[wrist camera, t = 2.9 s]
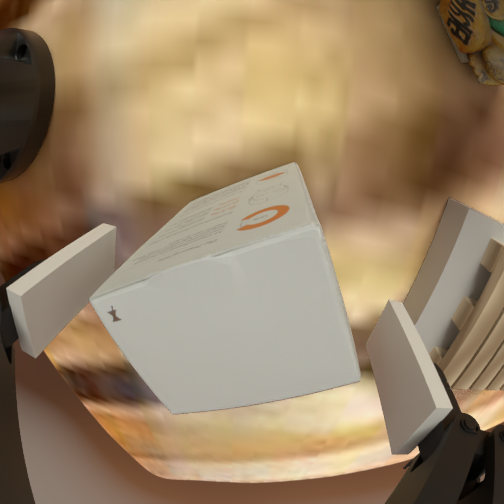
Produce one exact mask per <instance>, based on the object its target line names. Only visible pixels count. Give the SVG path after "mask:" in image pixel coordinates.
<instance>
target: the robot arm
mask: <svg viewBox="0 0 504 504" xmlns="http://www.w3.org/2000/svg"><path fill="white" fill-rule="evenodd" d="M53 99H54V67H53V61H52V57H51V53H50V51H49V48H48V46H47V44H46V43H45V41H44V40H43V39H42V37H41V36H39V35H38V34H37V33H35V32H32V31H28V30H23V29H17V28H8V29H3V30H0V184H1V183H3V182H6V181H9V180H12V179H14V178H16V177H18V176H19V175H21V174H22V173H23V172H24V171H25V170H26V169H27V168H28V167H29V165H30V164H31V163H32V161H33V160H34V158H35V156H36V155H37V153H38V151H39V149H40V147H41V145H42V142H43V140H44V137H45V134H46V131H47V128H48V125H49V121H50V116H51V112H52V106H53ZM115 245H116V227H115V226H112V225H108V224H105V223H103V224H101V225H99V226H98V227H96V228H95V229H93V230H91V231H90V232H88V233H86V234H85V235H83V236H82V237H80V238H78V239H77V240H75V241H74V242H72V243H71V244H69V245H68V246H66V247H64V248H63V249H61V250H60V251H58V252H57V253H55V254H54V255H52V256H51V257H49V258H48V259H46V260H45V259H43V260H40V261H37V262H35V263H33V264H31V265H30V266H28V267H27V268H25V270H22V271H21V272H20V273H19V274H17V275H15V276H14V277H12V278H11V279H10V280H8V281H7V282H6V283H4V284H3V285H1V286H0V504H35V501H34V498H33V494H32V490H31V486H30V482H29V478H28V474H27V469H26V464H25V459H24V454H23V448H22V442H21V436H20V428H19V421H18V411H17V400H16V385H15V350H14V346H13V343H14V342H15V341H16V340H17V339H19V343H20V346H21V349H22V351H24V352H26V353H27V354H29V355H31V356H33V357H34V358H37V357H38V355H39V354H40V353H41V352H42V351H43V350H44V349H45V348H46V347H47V345H48V344H49V343H50V342H51V341H52V340H53V339H54V338H55V337H56V336H57V335H58V334H59V333H60V332H61V330H62V329H63V328H64V327H65V326H66V325H67V324H68V323H69V322H70V321H71V320H72V319H73V318H74V317H75V316H76V315H77V314H78V313H79V312H80V311H81V310H82V309H83V308H84V307H85V306H86V305H87V304H88V303H89V302H90V301H89V298H90V297H91V296H92V295H93V294H94V293H95V291H96V290H97V289H98V288H99V287H100V286H101V285H102V284H103V283H104V282H105V281H106V280H107V279H108V278H109V277H110V276H111V275H112V274H113V273H114V272H115ZM366 348H367V351H368V355H369V358H370V362H371V366H372V370H373V373H374V377H375V381H376V385H377V389H378V393H379V397H380V402H381V406H382V410H383V414H384V419H385V423H386V428H387V433H388V437H389V442H390V447H391V452H392V454H409V453H410V452H411V451H412V450H413V449H415V448H416V447H417V446H418V447H419V451H420V453H419V454H418V455H417V456H416V457H414V458H413V459H412V460H411V461H410V462H409V463H408V464H407V465H406V466H405V467H403V468H404V469H406V468H407V467H408V466H409V468H408V469H407V471H406V473H405V474H404V476H403V477H402V479H401V481H400V482H399V484H398V485H397V487H396V488H395V490H394V491H393V493H392V494H391V495H390V497H389V498H388V500H387V501H386V503H385V504H504V425H501V424H500V425H497V426H496V427H495V428H494V429H493V430H492V431H491V432H486V431H483V430H480V427H479V424H478V423H477V421H476V420H475V419H474V418H473V417H472V416H470V415H468V414H466V413H461V410H460V408H459V406H458V403H457V401H456V399H455V396H454V394H453V392H452V390H451V389H450V385H449V383H448V382H447V379H446V377H445V375H444V373H443V371H442V370H441V369H440V367H439V366H438V365H437V364H436V363H433V362H432V360H431V358H430V356H429V354H428V352H427V350H426V348H425V346H424V344H423V341H422V340H421V338H420V336H419V334H418V332H417V330H416V328H415V326H414V324H413V322H412V320H411V318H410V316H409V314H408V313H407V311H406V309H405V307H404V305H403V303H401V302H397V301H393V300H388V302H387V304H386V306H385V308H384V310H383V312H382V314H381V316H380V318H379V320H378V322H377V324H376V326H375V328H374V330H373V332H372V334H371V335H370V337H369V339H368V341H367V343H366ZM484 473H485V478H484V480H483V481H482V482H480V477H481V476H482V475H483V474H484Z"/></svg>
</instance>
